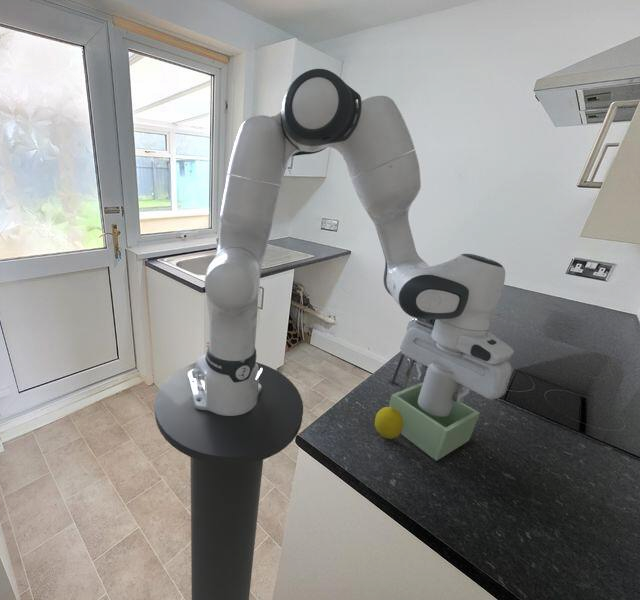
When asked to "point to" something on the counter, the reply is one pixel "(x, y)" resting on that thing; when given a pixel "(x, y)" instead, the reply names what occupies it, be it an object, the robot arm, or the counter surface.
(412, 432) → the bin
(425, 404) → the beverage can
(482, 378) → the robot arm
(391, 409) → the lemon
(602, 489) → the counter surface
